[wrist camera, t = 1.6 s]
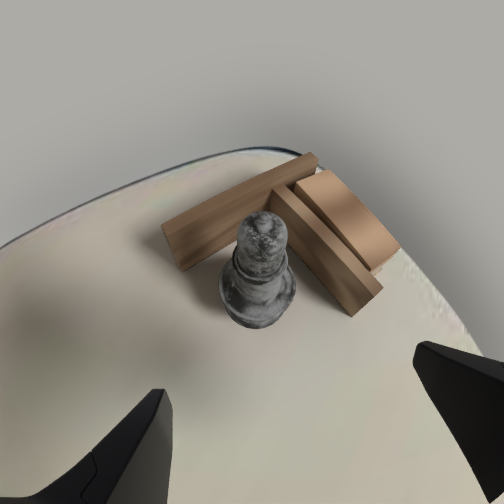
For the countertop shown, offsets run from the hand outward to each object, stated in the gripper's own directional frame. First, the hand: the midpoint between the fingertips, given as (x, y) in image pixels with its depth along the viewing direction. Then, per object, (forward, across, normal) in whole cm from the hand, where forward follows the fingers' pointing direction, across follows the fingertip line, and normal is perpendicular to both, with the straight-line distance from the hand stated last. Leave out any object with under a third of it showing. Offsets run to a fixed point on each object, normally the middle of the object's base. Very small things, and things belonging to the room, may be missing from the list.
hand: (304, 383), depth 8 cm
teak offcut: (+16, -8, -2) cm, 18 cm away
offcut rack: (+17, -3, +2) cm, 17 cm away
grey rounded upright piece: (+16, 0, +4) cm, 16 cm away
